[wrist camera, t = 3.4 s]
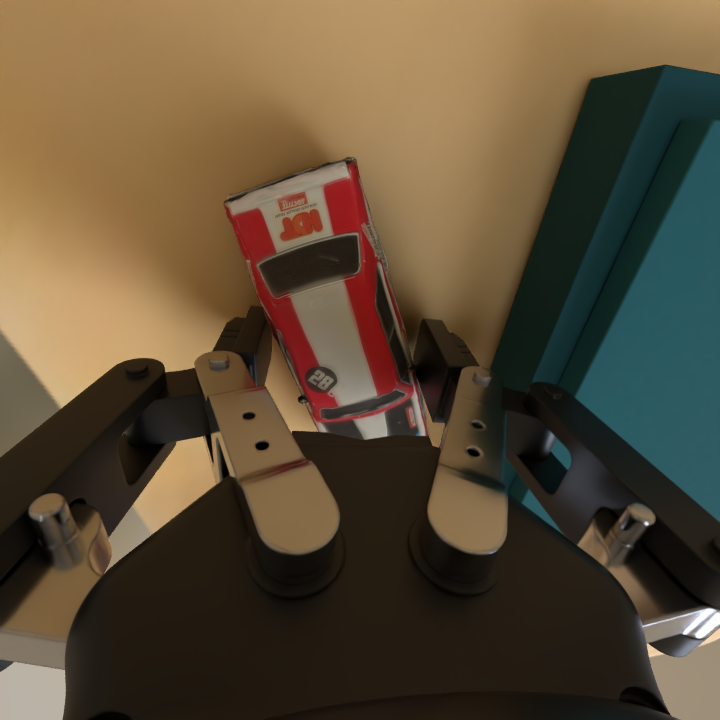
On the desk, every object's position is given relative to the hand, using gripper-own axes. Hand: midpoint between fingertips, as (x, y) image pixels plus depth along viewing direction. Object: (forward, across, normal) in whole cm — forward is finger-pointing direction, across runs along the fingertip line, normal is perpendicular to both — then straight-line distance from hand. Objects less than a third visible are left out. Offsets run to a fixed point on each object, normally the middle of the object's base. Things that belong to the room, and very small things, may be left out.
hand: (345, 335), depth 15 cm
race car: (+1, 0, 0) cm, 1 cm away
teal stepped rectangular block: (+1, -13, 0) cm, 13 cm away
